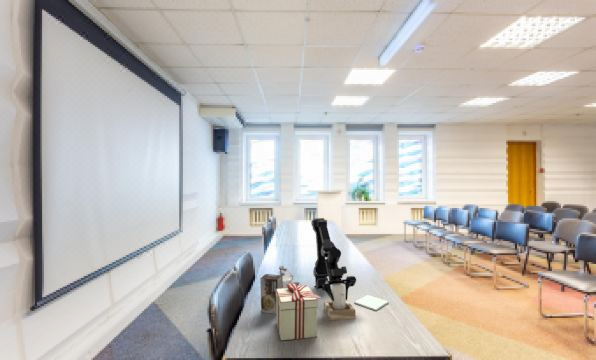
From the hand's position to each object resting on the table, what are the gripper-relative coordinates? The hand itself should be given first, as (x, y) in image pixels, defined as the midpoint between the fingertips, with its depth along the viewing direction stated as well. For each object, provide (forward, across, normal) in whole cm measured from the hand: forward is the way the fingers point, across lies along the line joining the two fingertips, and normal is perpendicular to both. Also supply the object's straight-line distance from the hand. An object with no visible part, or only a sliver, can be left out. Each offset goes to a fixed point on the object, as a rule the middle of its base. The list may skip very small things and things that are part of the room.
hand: (340, 300), depth 131 cm
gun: (-37, -19, +47) cm, 63 cm away
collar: (+4, 0, +6) cm, 7 cm away
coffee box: (-3, -30, +13) cm, 33 cm away
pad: (-2, +19, +11) cm, 22 cm away
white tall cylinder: (+4, 0, +5) cm, 7 cm away
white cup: (-13, -22, +23) cm, 34 cm away
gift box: (+11, -21, -1) cm, 23 cm away
